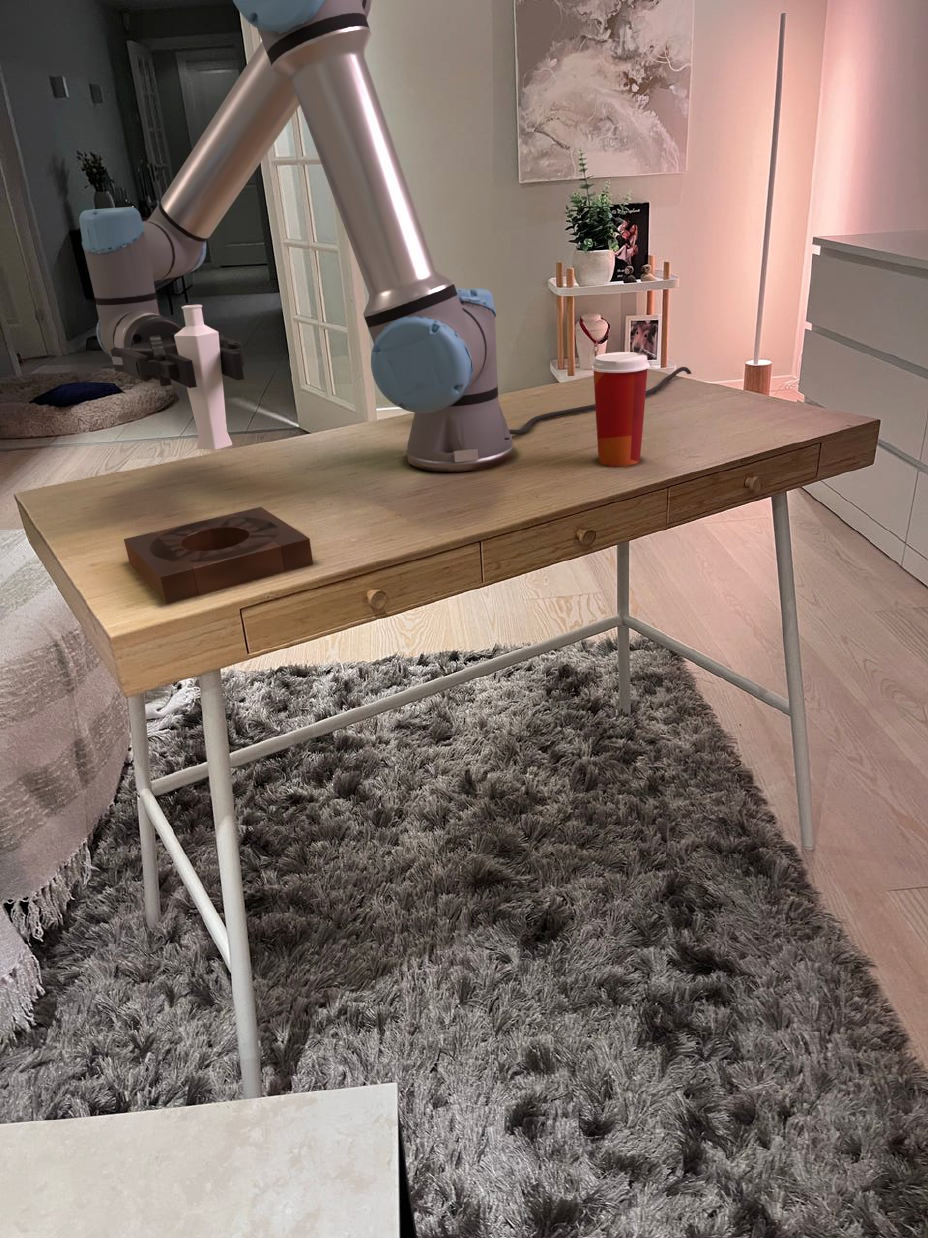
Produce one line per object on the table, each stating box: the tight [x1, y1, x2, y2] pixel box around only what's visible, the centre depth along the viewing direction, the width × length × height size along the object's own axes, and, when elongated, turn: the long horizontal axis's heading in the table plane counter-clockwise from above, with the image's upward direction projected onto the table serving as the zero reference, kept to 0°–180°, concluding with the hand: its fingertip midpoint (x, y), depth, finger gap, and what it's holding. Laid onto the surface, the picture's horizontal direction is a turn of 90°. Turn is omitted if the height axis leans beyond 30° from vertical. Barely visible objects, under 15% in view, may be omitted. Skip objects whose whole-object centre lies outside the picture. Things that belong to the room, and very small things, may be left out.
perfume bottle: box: [174, 304, 233, 451], centre depth 102 cm, size 5×4×15 cm
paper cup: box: [590, 351, 651, 467], centre depth 126 cm, size 8×8×14 cm
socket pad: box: [123, 506, 314, 605], centre depth 102 cm, size 16×14×3 cm
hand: (215, 370), depth 97 cm, fingers closed on perfume bottle, 4 cm apart
